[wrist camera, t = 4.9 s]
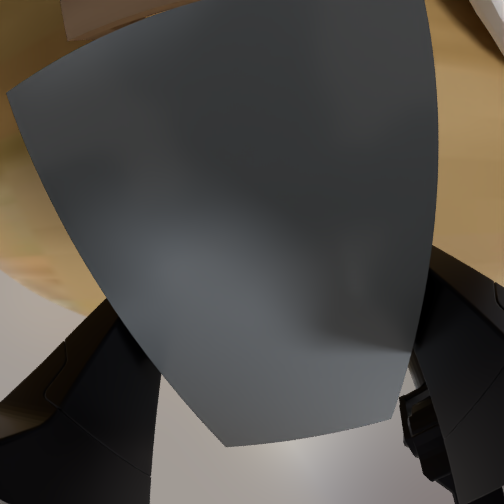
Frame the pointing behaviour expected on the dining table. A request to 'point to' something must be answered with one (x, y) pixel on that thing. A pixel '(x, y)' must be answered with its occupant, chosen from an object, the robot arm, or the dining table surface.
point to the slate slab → (253, 200)
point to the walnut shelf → (108, 15)
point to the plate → (492, 18)
